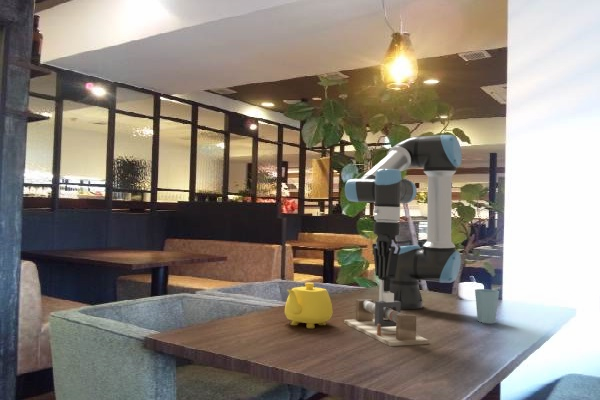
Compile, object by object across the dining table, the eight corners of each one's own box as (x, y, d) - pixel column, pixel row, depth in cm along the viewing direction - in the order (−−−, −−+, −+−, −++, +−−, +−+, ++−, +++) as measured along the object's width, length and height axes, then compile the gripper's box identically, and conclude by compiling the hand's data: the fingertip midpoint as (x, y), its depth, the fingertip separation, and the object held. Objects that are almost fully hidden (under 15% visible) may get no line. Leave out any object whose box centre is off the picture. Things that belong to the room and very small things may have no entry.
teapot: (341, 323, 165) (343, 282, 165) (304, 334, 149) (305, 289, 149) (306, 317, 173) (307, 278, 173) (267, 326, 157) (268, 283, 157)
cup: (503, 323, 173) (504, 291, 174) (486, 324, 170) (486, 292, 170) (487, 319, 180) (487, 288, 180) (469, 320, 177) (470, 289, 177)
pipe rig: (344, 323, 165) (344, 299, 165) (377, 321, 169) (378, 298, 170) (389, 346, 138) (390, 317, 138) (428, 343, 142) (429, 315, 142)
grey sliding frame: (374, 325, 152) (375, 292, 152) (395, 324, 154) (396, 291, 154) (378, 327, 149) (379, 293, 150) (400, 326, 152) (400, 293, 152)
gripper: (365, 220, 159) (362, 298, 158) (386, 221, 147) (383, 306, 146) (387, 221, 162) (384, 298, 161) (409, 222, 149) (407, 305, 149)
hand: (384, 301), depth 154 cm, fingers closed
